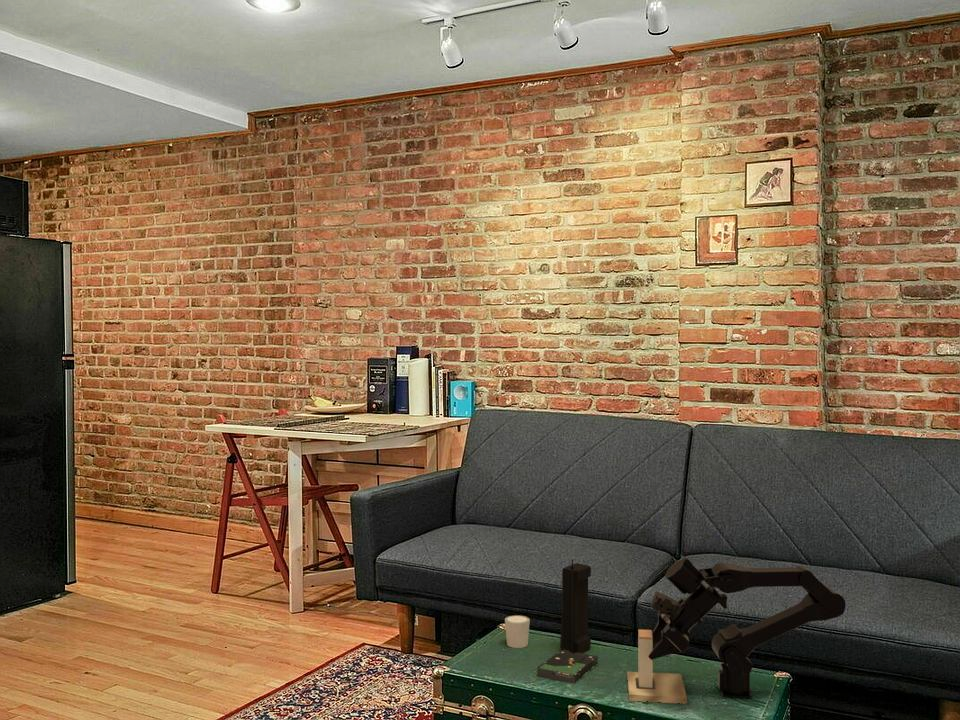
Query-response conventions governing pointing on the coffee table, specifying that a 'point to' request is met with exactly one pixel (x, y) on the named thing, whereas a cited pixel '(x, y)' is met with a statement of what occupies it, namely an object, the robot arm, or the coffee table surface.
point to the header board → (658, 688)
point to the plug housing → (645, 658)
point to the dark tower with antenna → (575, 608)
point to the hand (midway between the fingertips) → (648, 651)
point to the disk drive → (566, 666)
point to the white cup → (517, 631)
